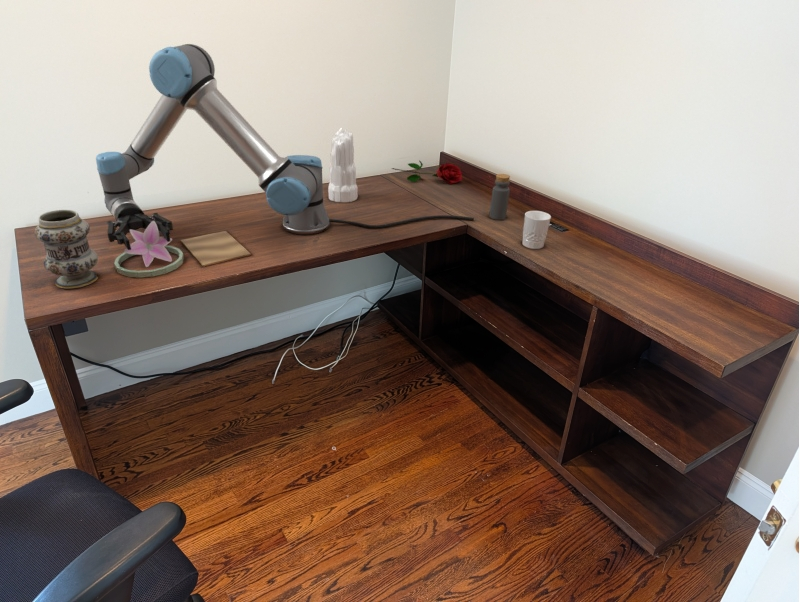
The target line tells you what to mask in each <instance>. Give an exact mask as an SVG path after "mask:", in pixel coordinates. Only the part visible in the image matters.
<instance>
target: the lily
mask: <svg viewBox="0 0 800 602" xmlns="http://www.w3.org/2000/svg"><path fill="white" fill-rule="evenodd" d="M129 234H131V236H132V238H133V240H134V241H133V242H132V243H130V246H131V250H128V249H127V248H126V247H125V249H124V250H123V253H124V252H125V253H128V254H136V255H139V256H142V260H143V263H144V266H145V268H148V267H149V266H150V265H151V264H152V262H153V260H154V258H155V259H159V260H162V261H164V262H165V261H166V262H169V263H170V262H172V261H173V258H172V256H171V253H170V252H168V251H167V250H166V248H165V247H164V246H166V245H168V244H170V243H171V242H172V241H173V238H172V237H170V242H167V240H166V239H165V238H164V237H163V236H160V231H158V227H157V225H156V223H155V221H152V222H151V223H150V224H149V225H148V227H147V228H146V229H144V232H142V231H139V230H132V229H130V233H129Z"/></svg>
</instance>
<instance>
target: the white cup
mask: <svg viewBox="0 0 800 602" xmlns="http://www.w3.org/2000/svg"><path fill="white" fill-rule="evenodd" d="M551 219H552V216H551V214H549V213H548V212H544V211H541V210H529V211H526V212H525V213H524V219H523V228H522V241H521V244H522V245H523V247H526V249H527V248H528V249H532V250H539V249H542V248H544V246H545V242H546V238H547V235H548V231H549V227H550V223H551Z"/></svg>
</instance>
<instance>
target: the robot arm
mask: <svg viewBox="0 0 800 602" xmlns="http://www.w3.org/2000/svg"><path fill="white" fill-rule="evenodd" d="M148 65H149V66H148V70H149V78H150V81H151V83H152V85H153V86H154V88H155V89H156V90H157V91H158V92H159V94H161V96H160V97H159V98H158V100H157V102H156V103H155V106H153V108H152V109H151V112H150V113H149V115H148V116H147V118H146V119H145V121H144V123H142V125H141V127H140V129H139V130H138V132H137V133H136V135H135V136H134V137H133V139H132V141H131V143H130V144H129V146H128V147H127V149H126V151H124V152H123V153H121V152H120V151H105V152H101V153H98V154H97V155H96V156H95V162H96V169H97V172H98V176H99V180H100V183H101V187H102V190H103V195H104V204H105V208H106V209H107V211H108V212H109V213H110V214H111V215H112V217H113V219H114V220H115V221H112V220H108V221H106V225H107V231H106V232H107V233H106V234H107V237H108V238H107V239H108V241H109V243H113V242H115V241H116V242H117V244H118V245H124V246H125V249H126V248H127V249H128V250H131V246H130V245H131V243H130V239H129V238H128V236H127V234H131V233H130V229H132V230H136V231H138V230H140V229H143V230H146V228H147V227H148V225H149V224H150V223H151V222H152V221H155V223H156V225H157V227H158V231H159V233H160V235H161V237H164V238H165V239H166V240H167V242H169V243H171V242H170V238H171V237H170V235H171V231H173V230H174V226H173V221H172V220H170V219H167V218H166V217H164V216H162V215H160V214H159V213H158V212H153V214H152V215H148V214H145V212H144V211H143V210H142V209H141V207H140V206H139V205H138V204H137V203H136V202H135V200H134V196H133V192H132V188H131V187H132V186H131V182H130V180H132V179H134V178H135V177H137V176H139V175H140V174H143V173H145V172H147V171H148V170H150V168H152V167H153V166H154V163H155V157H156V156H157V154H158V153H159V151H160V150H161V149H162V148H163V146H164V144H165V142H166V141H167V140H168V138H169V136H170V135H171V133H173V131H174V129H175V128H176V126H177V125H178V123H179V122H180V121H181V119H182V118H183V116H184V115H185V114H186V111H188V110H191V111H194V112H195V113H196V114H197V115H198V116H199V117H200V118H201V119H202V120H203V121H204V122H205V123H206V124H207V125H208V126H209V128H211V130H212V131H213V132H215V134H216V135H217V136H218V137H219V138H220V139H221V140H222V141H223V143H224V144H226V146H227V147H229V148H230V150H232V152H233V153H234V154H235V155H236V156H237V157H238V159H240V160H241V161H242V162H243V163H244V164H245V165H246V166H247V167H248V168H249V169H250V171H251V172H253V174H254V175H255V176H256V177H257V178H258V186H259V188H260V189H261V190H262V191H263V192H265V196H266V198H265V199H266V202H267V204H268V206H269V207H270V208H271V209H272V210H273V211H274V212H275V213H277V214H280V215H281V216H283V219H282V228H283V230H284V231H286V232H287V233H290V234H294V235H301V236H305V235H306V236H307V235H316V234H319V233H322V232H325V231H326V230H328V229H329V228H330V225H331V223H334V224H335V223H337V224H344V225H352V226H359V227H362V228H367V229H381V228H382V229H383V228H388V227H394V226H399V225H404V224H407V223H412V222H413V223H414V222H418V221H419V222H420V221H425V220H432V219H454V220H455V219H457V220H466V221H475V217H471V216H464V215H446V214H445V215H442V214H441V215H427V216H420V217H416V218H408V219H405V220H400V221H395V222H390V223H384V224H365V223H361V222H358V221H351V220H343V219H335V218H330V217H329V214H328V212H327V209H326V207H325V204H324V188H323V187H324V186H323V185H324V184H323V183H324V182H323V165H322V159H321V157H318V156H315V155H307V154H292V155H287V156H285V157H284V156H283V157H281V156H280V155H278V153H277V152H276V151H275V150H274V149H273V148H272V147H271V146H270V144H268V142H267V141H266V140H265V139H264V138H263V137H262V136H261V135H260V134H259V133H258V132H257V130H256V129H255V128H254V127H253V126H252V125H251V123H249V122H248V121H247V120H246V118H245V117H244V116H243V115H242V114H241V113H240V112H239V111H238V110H237V109H236V108H235V107H234V105H233V104H232V103H231V102H230V101H229V100H228V99H227V98H226V97H225V96H224V95H223V94H222V92H220V90H219V89H218V85H217V84H218V83H217V82H218V81H217V78H215V71H216V69H215V63H214V61H213V58H212V56H211V55H210V53H208V51H207V50H205V49H204V48H203V47H201V46H199V45H197V44H193V43H186V44H182V45H177V46H165V47H164V48H162V49H160V50H158V51H157V52H155V53H154V54H153V55H152V57H151V59H150V61H149V64H148Z"/></svg>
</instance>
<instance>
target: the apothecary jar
mask: <svg viewBox="0 0 800 602" xmlns="http://www.w3.org/2000/svg"><path fill="white" fill-rule="evenodd" d="M90 231H91V228H90V225H89V223H88V222H87V221H86V220H85V219H83V218H81V217H80V215H79V212H77V211H76V210H72V209H56V210H51V211H47V212H44V213H42V214H40V215H39V217H38V224H37V226H36V227H35V229H34V237H35V238H36V239H37V240H38V241H39V242H41V243H43V246H44V249H45V253H46V256H45V257H44V260H43V267H44V269H45V270H46V271H47V272H49V273H50V274H53V275H55V276H56V275H57V276H59V277H57V279H55V281H54V284H55V286H56V287H58V288H59V289H64V290H72V289H80V288H84V287H87V286H89V285H92V284H94V283H95V282H96V281H97V280H98V279H99V276H98V273H97V272H96V271H93V270H92V269H93V268H94V267H95V266H96V265H97V263H98V260H99V255H98V254H97V252H96V251H94V249H92V248H91V247H90V244H89V240H88V234H89V233H90Z"/></svg>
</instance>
